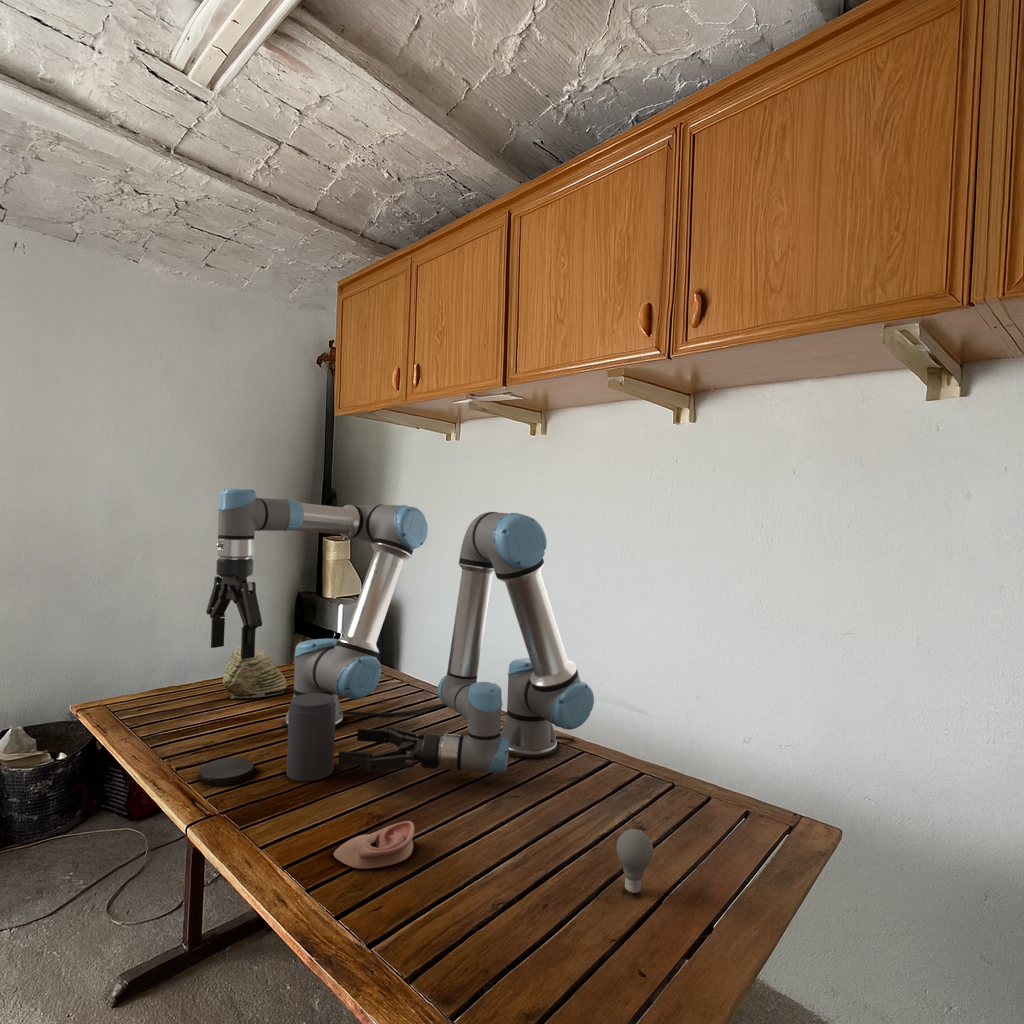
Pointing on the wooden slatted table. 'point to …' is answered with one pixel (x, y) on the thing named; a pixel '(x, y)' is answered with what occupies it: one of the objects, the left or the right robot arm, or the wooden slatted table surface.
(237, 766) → the lid
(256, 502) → the left robot arm
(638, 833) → the light bulb
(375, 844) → the anatomical model
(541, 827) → the wooden slatted table surface
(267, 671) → the fossil
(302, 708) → the jar
